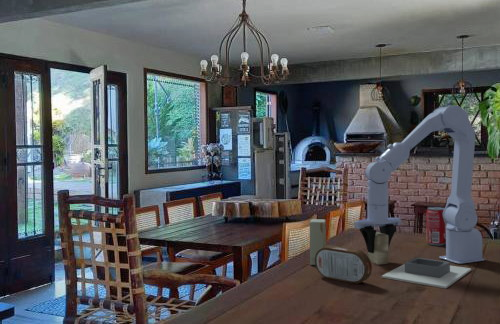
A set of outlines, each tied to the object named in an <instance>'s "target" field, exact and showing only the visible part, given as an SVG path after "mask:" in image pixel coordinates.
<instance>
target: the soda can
mask: <svg viewBox="0 0 500 324" xmlns="http://www.w3.org/2000/svg"><path fill="white" fill-rule="evenodd" d="M444 209H445V207H439V206H429V207H427V210H426V213H425V214H426V217H425V220H426V221H425V222H426V223H425V228H426V230H425V232H426V233H425V234H426V235H425V238H426V240H425V241H426V243H427V244H428V245H429V246H440V247H441V246H444V245H446V226H447V223H446V222H445V220H444V219H443V211H444Z"/></svg>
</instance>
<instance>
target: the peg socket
mask: <svg viewBox="0 0 500 324" xmlns="http://www.w3.org/2000/svg"><path fill="white" fill-rule="evenodd" d="M471 271H472V268H471V267H470V268H469V267H465V266H464V267H463V266H458V265H457V266H455V265H451V261H447V260H446V261H445V260H437V259H431V258H424V257H418V256H415V257H414V258H411V259H410V260H408V261H405V263H404V264H402V265H400V266H398V267H395V268H394V269H392V270H390V271H388V272H385V273H384V274H383V275H381V278H382V279H383V278H384V279H389V280H395V281H399V282H405V283H412V284H416V285H423V286H427V287H428V286H430V287H434V288H441V289H447V288H449V287H450V286H452V285H453V284H455V282H457V281H458V280H459V279H462V278H463V277H464V276H466V275H467V274H468V273H469V272H471Z"/></svg>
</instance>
